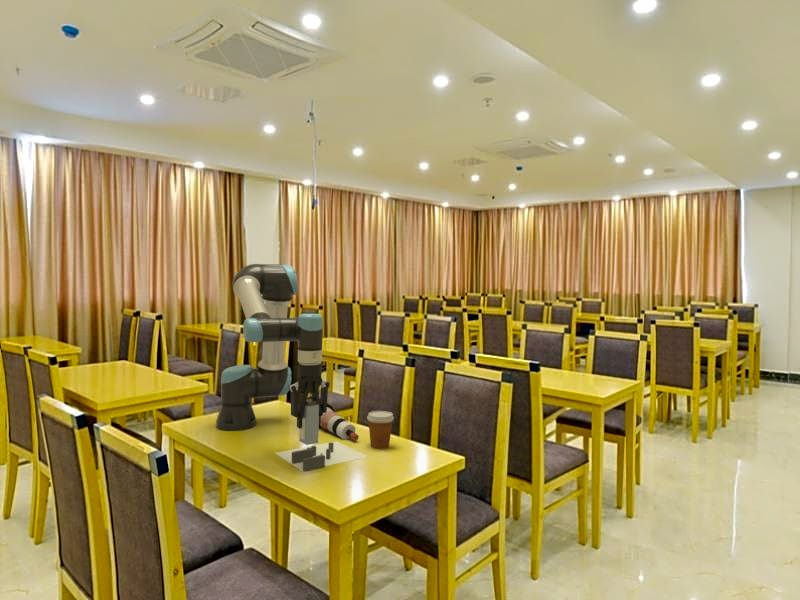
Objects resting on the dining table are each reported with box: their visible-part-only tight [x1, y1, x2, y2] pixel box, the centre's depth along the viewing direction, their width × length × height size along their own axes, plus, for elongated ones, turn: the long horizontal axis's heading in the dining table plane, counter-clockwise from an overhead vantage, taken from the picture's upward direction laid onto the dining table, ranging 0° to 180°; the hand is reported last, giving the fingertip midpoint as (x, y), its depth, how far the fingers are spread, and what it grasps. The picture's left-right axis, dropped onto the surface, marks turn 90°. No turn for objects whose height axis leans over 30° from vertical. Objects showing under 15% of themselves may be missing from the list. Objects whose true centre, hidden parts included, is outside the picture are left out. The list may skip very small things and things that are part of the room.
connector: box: [298, 399, 319, 446], centre depth 171 cm, size 5×4×13 cm
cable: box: [307, 395, 359, 441], centre depth 209 cm, size 10×34×10 cm, turn 38°
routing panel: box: [274, 440, 368, 472], centre depth 181 cm, size 20×24×4 cm
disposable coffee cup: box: [366, 410, 395, 450], centre depth 192 cm, size 10×10×12 cm
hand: (308, 436), depth 171 cm, fingers closed on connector, 4 cm apart
